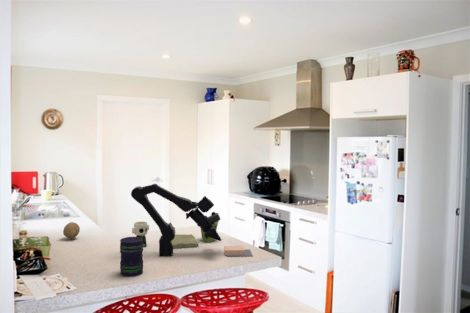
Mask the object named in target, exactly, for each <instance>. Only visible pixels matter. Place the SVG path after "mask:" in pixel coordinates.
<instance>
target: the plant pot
mask: <svg viewBox="0 0 470 313" xmlns="http://www.w3.org/2000/svg"><path fill="white" fill-rule="evenodd" d="M219 222H220V220H219V221H216V222H215V224H213V225H212V226H216V231H217V228H218V224H219ZM200 232H201V233H200V234H201V240H202V242H206V243H212V242H214V241H216V239H213V238H210V237H209V238H208V239H206V237H205V236H204V232H203V230H202V229H201V228H200Z"/></svg>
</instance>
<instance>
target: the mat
mask: <svg viewBox="0 0 470 313" xmlns="http://www.w3.org/2000/svg"><path fill="white" fill-rule="evenodd" d="M242 257H243V258H248V257H251V258H252V257H254V255H253V253H252V251H251V249H245V255H226V258H242Z"/></svg>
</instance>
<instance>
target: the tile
mask: <svg viewBox="0 0 470 313" xmlns="http://www.w3.org/2000/svg"><path fill="white" fill-rule="evenodd" d="M223 247H224V249H223V251H224V255H225V256H227V255H245V250H246V249H245V247H244V245H224V246H223Z"/></svg>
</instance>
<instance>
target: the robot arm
mask: <svg viewBox="0 0 470 313" xmlns="http://www.w3.org/2000/svg"><path fill="white" fill-rule="evenodd" d="M153 193H154V194H156V195H158V196H159V197H162V198H164V199H165V200H167V201H170V202H171V203H173V204H174V205H175V206H177V208H179V209H180V210H181V211H182V212H184V213H185V216H186V217H185V219H186V220H188V219H189V218H190V219H192V220H193V222H195V224H196V225H197V227H199V229H200V230H201V229H202V230H203V232H204V236H205V237H206V239H208V238H209V237H210V238H213V239H215V241H218V242H221V241H222V238H221V236H220V235H219V233H218V232H217V230H216V226H212V225H213V224H215V222H216V221H219V222H220V221H221V217H220V215H219V213H218V212H215V211H212V212H211V213H210V214H211V215H210V216H207V215H205V214H204V213H208V212H209V211H210V210H211V209H212V208H213V207H214V206H215V203H213V201H212V200H211V199H209V198H208V197H207V196H206V195H204V196H203V197H202V198H201V199H200V200H199V201H198V202H197V201H192V200H191V199H189V198H187V197H183V196H179V195H177V194H174V193H173V192H171V191H170V190H168V189H166V188H164V187H162V186H160V185H158V184H157V183H153V184H150V185H146V186H135V187H134V188H133V189H132V190H131V193H130V195H131V197H132V198H133V200H135V201H136V202H137V203H138V204H140V205H141V206H142V208H144V210H145V211H146V212H147V214H148V215H149V217H151V219H152V220H153V221H154V223H155V224H156V226H157V227H158V228H159V230H160V231H159V232H160V233H161V235H160V237H159V240H158V250H159V252H158V256H159V257H172V256H173V254H174V249H173V245H172V242H171V241H172V240H173V239H174V237H175V235H176V232H177V231H176V227H174V226H173V224H172V222H171V221H170V222H167V221H165V219H164V218H163V217H162V216H161V214H160V212H158V210H157V209H156V208H155V207H154V205H153V204H152V202H151V201H150V199H149V198H148V195H150V194H153Z"/></svg>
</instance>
